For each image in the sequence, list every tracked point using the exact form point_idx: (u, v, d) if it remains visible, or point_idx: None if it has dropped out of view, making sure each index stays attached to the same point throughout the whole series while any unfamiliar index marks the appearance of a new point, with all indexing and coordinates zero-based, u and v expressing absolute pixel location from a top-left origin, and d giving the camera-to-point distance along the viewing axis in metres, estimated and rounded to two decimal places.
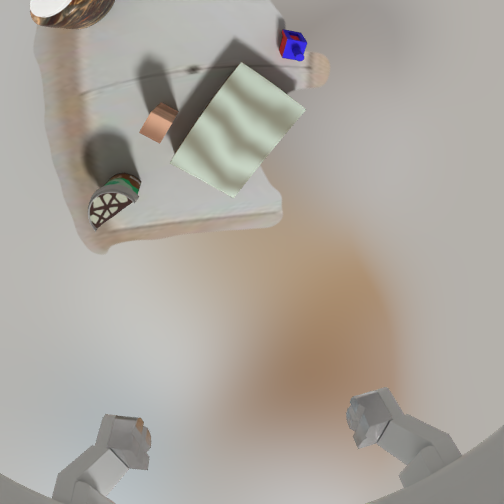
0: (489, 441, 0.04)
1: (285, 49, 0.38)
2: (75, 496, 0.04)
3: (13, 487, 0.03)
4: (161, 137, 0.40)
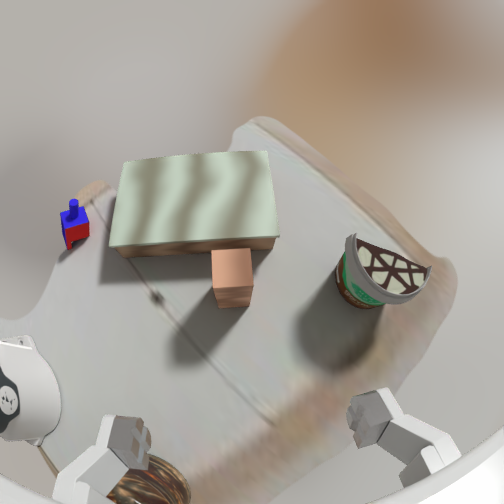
0: (489, 441, 0.04)
1: (77, 224, 0.36)
2: (75, 496, 0.04)
3: (13, 487, 0.03)
4: (240, 251, 0.29)
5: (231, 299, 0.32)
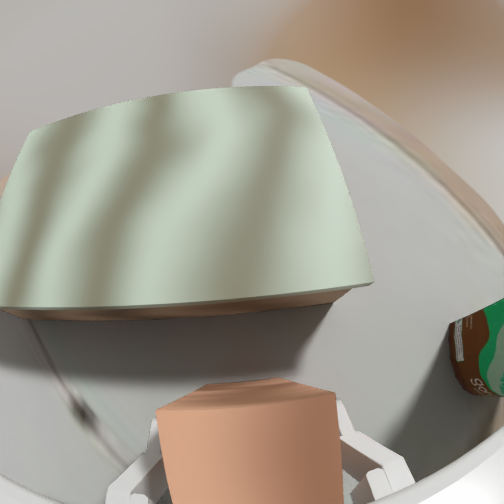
0: (489, 441, 0.04)
1: None
2: None
3: (13, 487, 0.03)
4: (291, 412, 0.05)
5: None
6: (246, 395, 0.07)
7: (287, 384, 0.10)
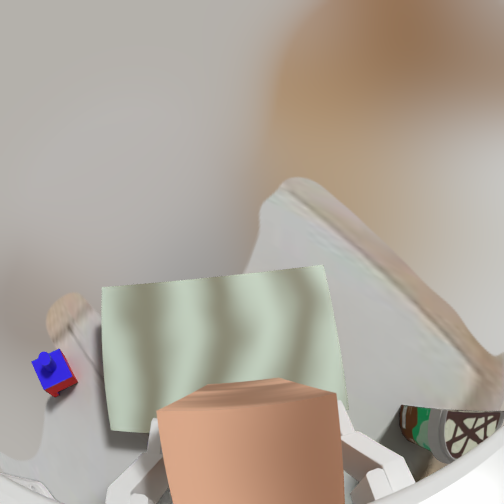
0: (489, 441, 0.04)
1: (58, 381, 0.22)
2: None
3: (13, 487, 0.03)
4: (292, 413, 0.05)
5: None
6: (247, 395, 0.07)
7: (288, 384, 0.09)
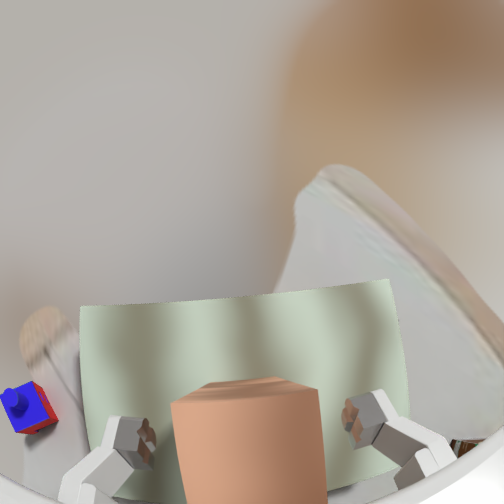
0: (489, 441, 0.04)
1: (32, 423, 0.14)
2: (81, 498, 0.04)
3: (13, 487, 0.03)
4: (281, 405, 0.07)
5: None
6: (245, 391, 0.09)
7: (281, 382, 0.11)
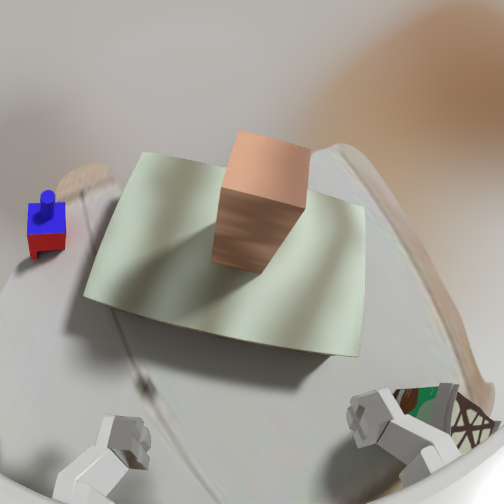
0: (489, 441, 0.04)
1: (48, 231, 0.21)
2: (75, 496, 0.04)
3: (13, 487, 0.03)
4: (292, 147, 0.14)
5: (241, 243, 0.17)
6: None
7: None
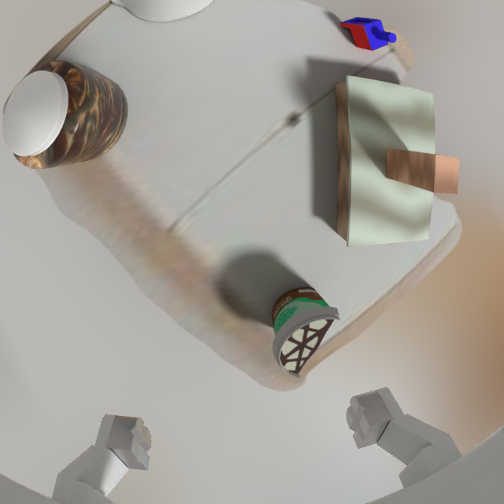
0: (489, 441, 0.04)
1: (369, 38, 0.26)
2: (75, 496, 0.04)
3: (13, 487, 0.03)
4: (456, 184, 0.23)
5: (406, 164, 0.28)
6: None
7: None
